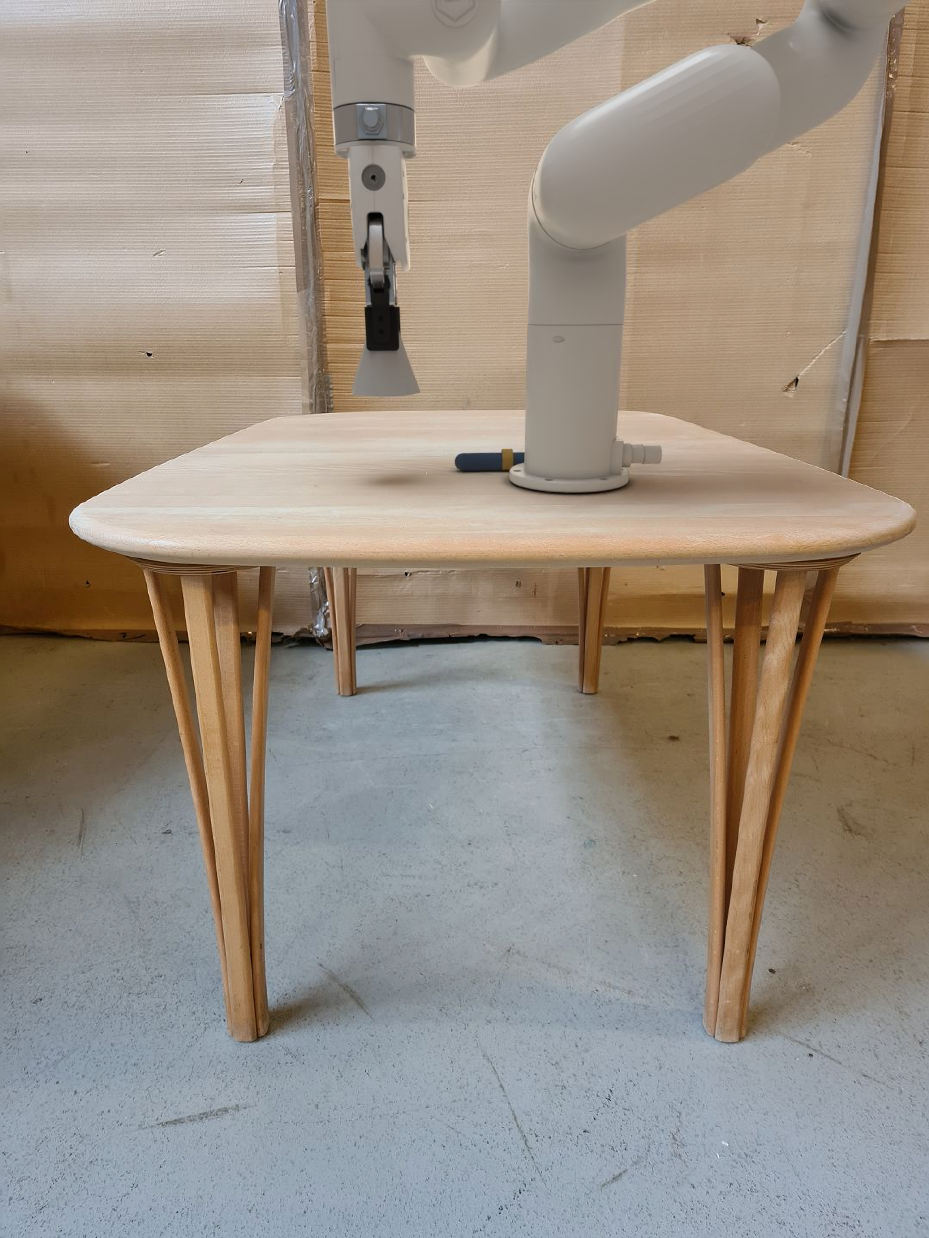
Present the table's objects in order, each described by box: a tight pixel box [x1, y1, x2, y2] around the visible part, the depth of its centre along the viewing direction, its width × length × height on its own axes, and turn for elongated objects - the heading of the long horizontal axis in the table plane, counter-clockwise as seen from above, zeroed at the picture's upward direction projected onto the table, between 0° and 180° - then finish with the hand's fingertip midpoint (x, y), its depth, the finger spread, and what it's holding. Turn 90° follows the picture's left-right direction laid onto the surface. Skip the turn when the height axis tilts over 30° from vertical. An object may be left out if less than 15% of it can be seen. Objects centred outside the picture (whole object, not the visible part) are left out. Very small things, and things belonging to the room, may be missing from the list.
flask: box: [350, 289, 421, 399], centre depth 76 cm, size 7×7×10 cm
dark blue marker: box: [454, 448, 525, 472], centre depth 87 cm, size 12×2×2 cm, turn 92°
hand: (384, 347), depth 76 cm, fingers closed on flask, 3 cm apart
